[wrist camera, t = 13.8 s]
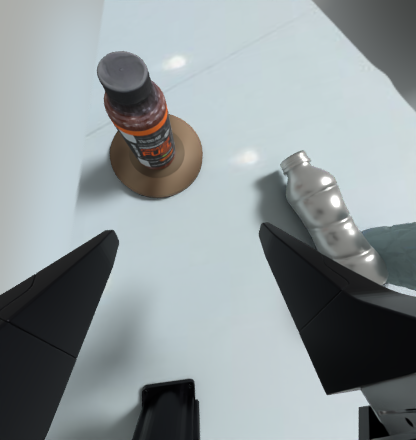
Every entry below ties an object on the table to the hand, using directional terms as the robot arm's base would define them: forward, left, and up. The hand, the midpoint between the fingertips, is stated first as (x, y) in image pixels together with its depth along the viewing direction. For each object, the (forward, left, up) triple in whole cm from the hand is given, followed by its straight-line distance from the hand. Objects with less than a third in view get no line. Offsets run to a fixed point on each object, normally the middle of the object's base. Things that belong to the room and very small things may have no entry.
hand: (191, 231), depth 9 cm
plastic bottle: (+22, -8, -10) cm, 26 cm away
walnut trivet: (-5, +14, -14) cm, 20 cm away
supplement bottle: (-5, +13, -13) cm, 19 cm away
